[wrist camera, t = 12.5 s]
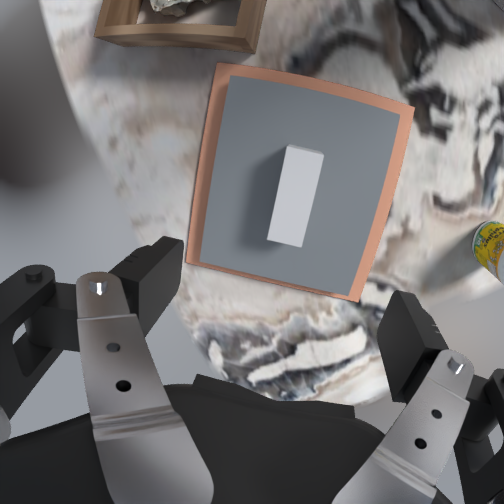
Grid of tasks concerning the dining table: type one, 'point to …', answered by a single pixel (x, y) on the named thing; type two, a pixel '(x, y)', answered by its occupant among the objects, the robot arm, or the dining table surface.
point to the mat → (311, 83)
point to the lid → (295, 183)
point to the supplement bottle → (490, 248)
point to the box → (179, 28)
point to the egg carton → (172, 6)
